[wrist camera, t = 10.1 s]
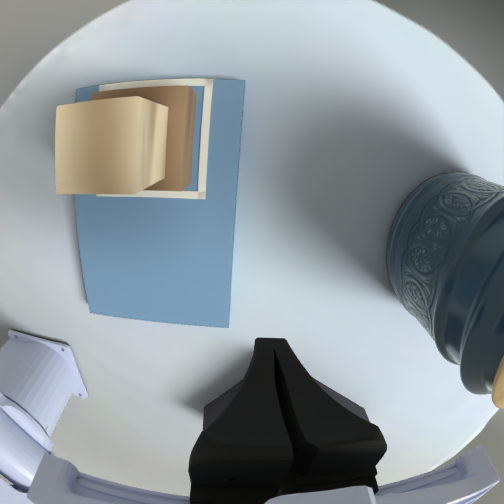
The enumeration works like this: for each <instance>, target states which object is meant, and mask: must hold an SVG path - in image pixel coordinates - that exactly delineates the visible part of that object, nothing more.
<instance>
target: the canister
mask: <svg viewBox="0 0 504 504" xmlns="http://www.w3.org/2000/svg"><path fill="white" fill-rule="evenodd" d="M386 264H387V271H388V276H389V279H390V282H391V284H392V286H393V289H394V292H395V294H396V296H397V298H398V299H399V301H400V302H401V304H402V305H403V306H404V307H405V309H406V310H407V311H408V312H409V313H410V314H411V315H413V316H414V317H416V319H417V320H418V321H419V322H420V323H421V325H422V326H423V327H424V328H425V330H426V331H427V332H428V334H429V335H430V336H431V337H432V339H433V340H434V341H435V343H436V346H437V349H438V351H439V352H440V354H441V355H442V356H443V357H444V358H445V359H446V360H447V361H449V362H450V363H453V364H456V365H460V376H461V380H462V383H463V385H464V387H465V388H466V389H467V390H468V391H469V392H471V393H473V394H477V395H486V394H491V393H492V401H493V403H494V405H495V406H496V407H498V408H501V409H504V186H501V185H498V184H495V183H492V182H489V181H487V180H485V179H483V178H481V177H479V176H477V175H473V174H469V173H463V172H455V173H445V174H440V175H437V176H434V177H432V178H430V179H428V180H426V181H425V182H423V183H422V184H421V185H419V186H418V187H417V188H416V189H415V190H414V191H413V192H412V193H411V194H410V195H409V197H408V198H407V199H406V200H405V202H404V203H403V205H402V206H401V208H400V210H399V211H398V213H397V215H396V218H395V220H394V222H393V225H392V228H391V231H390V234H389V238H388V244H387V252H386Z"/></svg>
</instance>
